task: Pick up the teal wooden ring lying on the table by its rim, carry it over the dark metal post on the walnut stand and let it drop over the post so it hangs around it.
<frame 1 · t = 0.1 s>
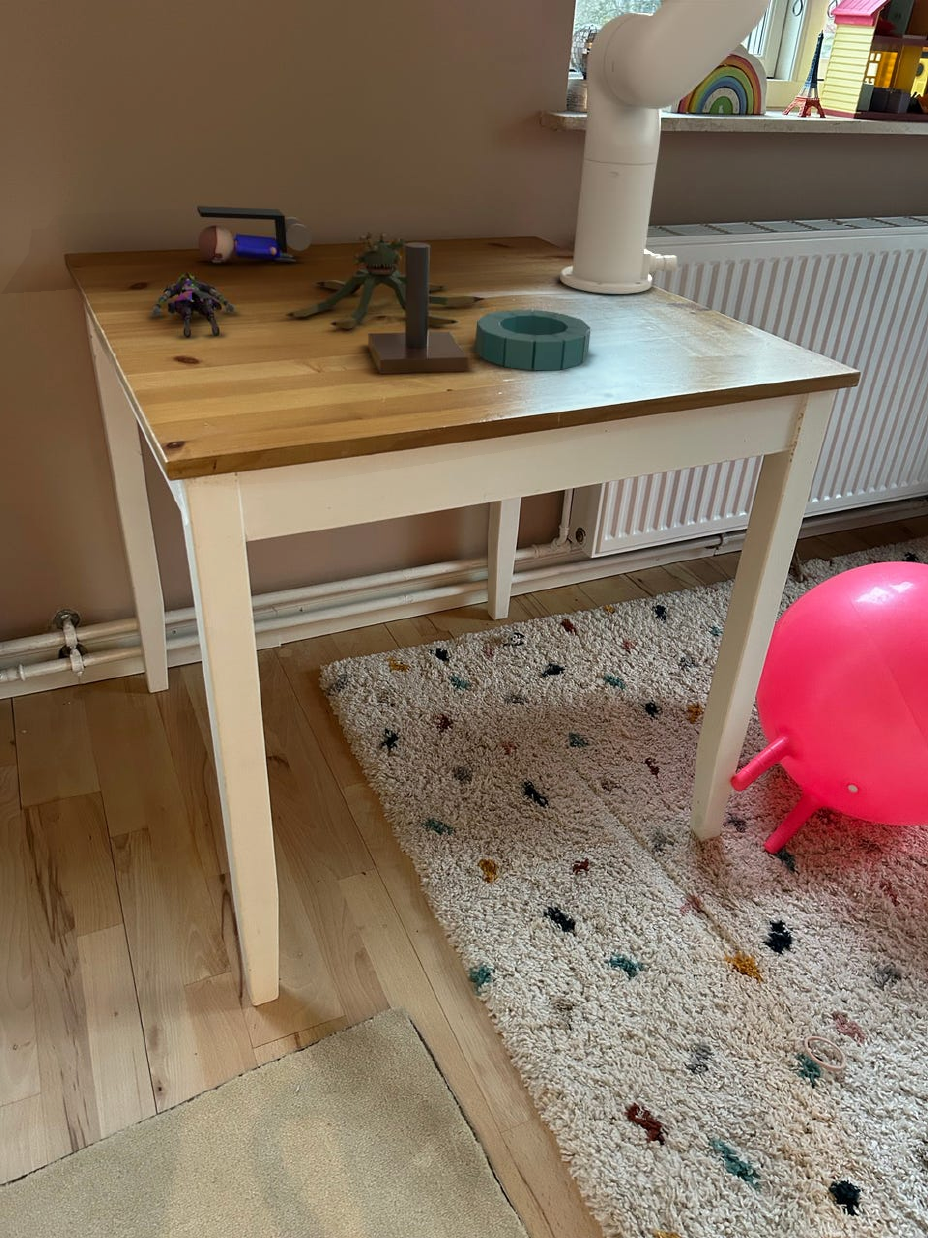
octopus toy: (387, 309, 117), on the table
character figure: (194, 318, 111), on the table
ring: (531, 352, 104), on the table
stand: (416, 358, 101), on the table
figurine character: (255, 262, 135), on the table
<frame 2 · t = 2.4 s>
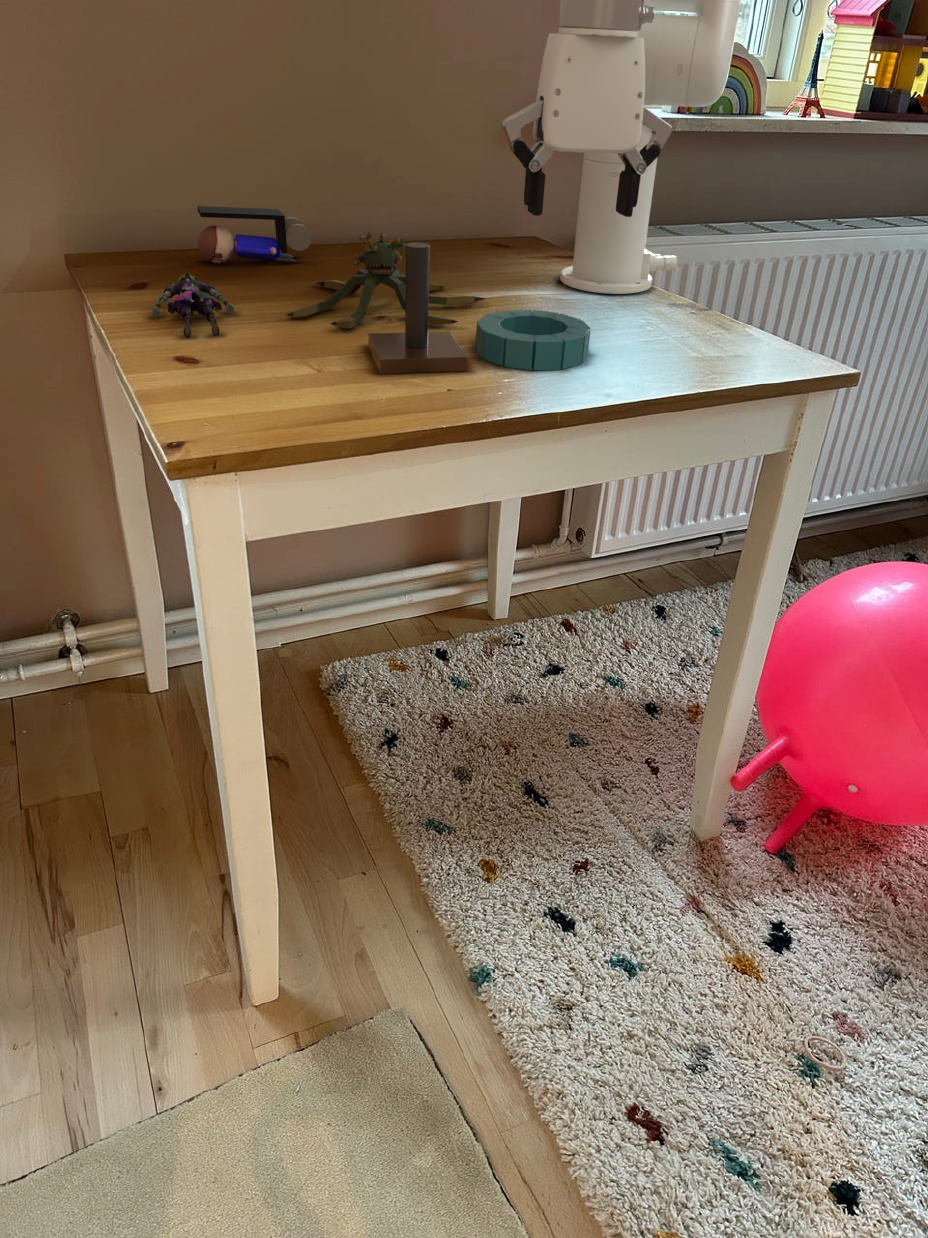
hand: (579, 213, 98), 14 cm above the table, tool pointing down, fingers open, 9 cm apart
nothing on the table moved.
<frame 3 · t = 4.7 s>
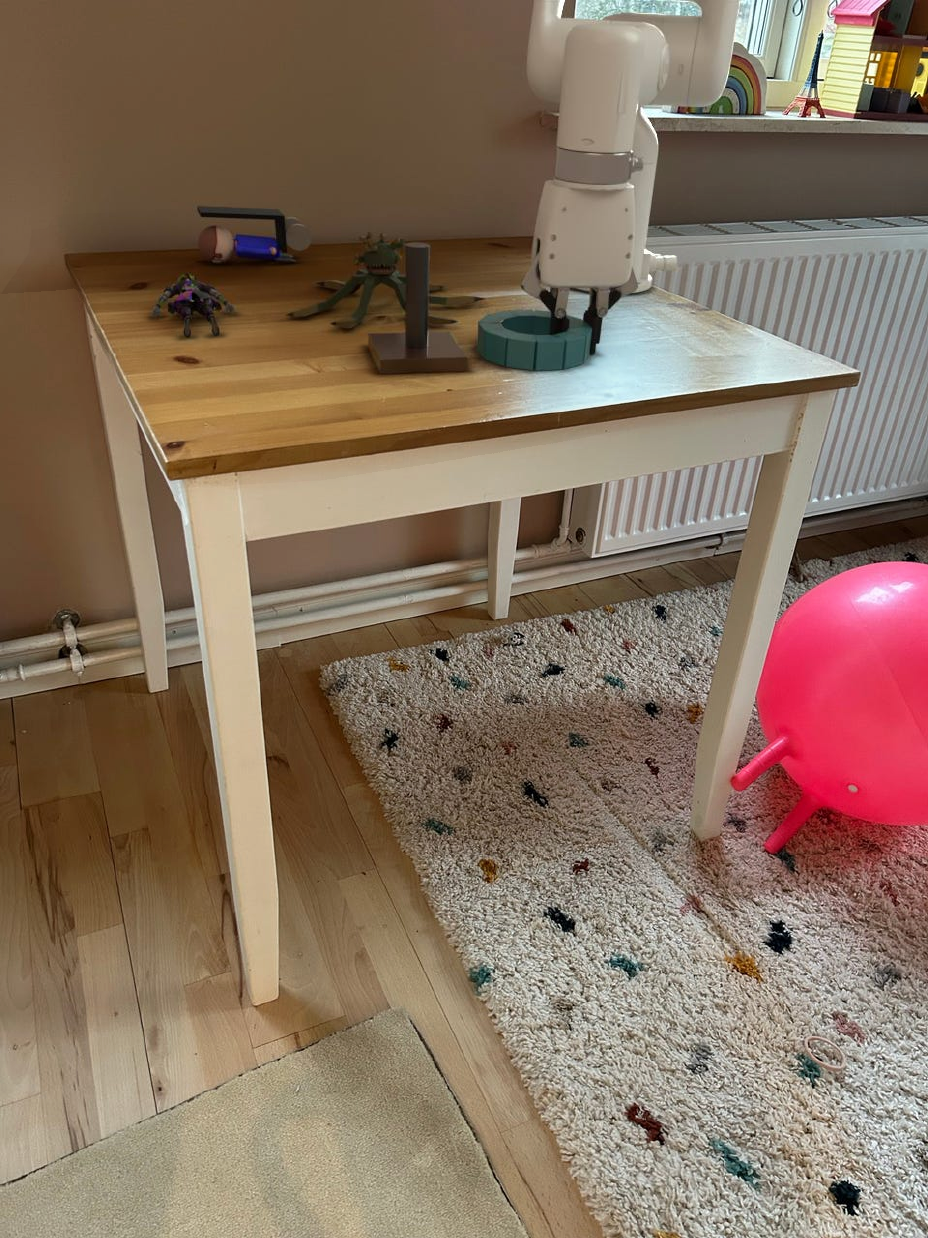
hand: (573, 349, 105), 0 cm above the table, tool pointing down, fingers closed on ring, 2 cm apart
ring: (532, 352, 104), on the table, touching gripper
everything else where it was.
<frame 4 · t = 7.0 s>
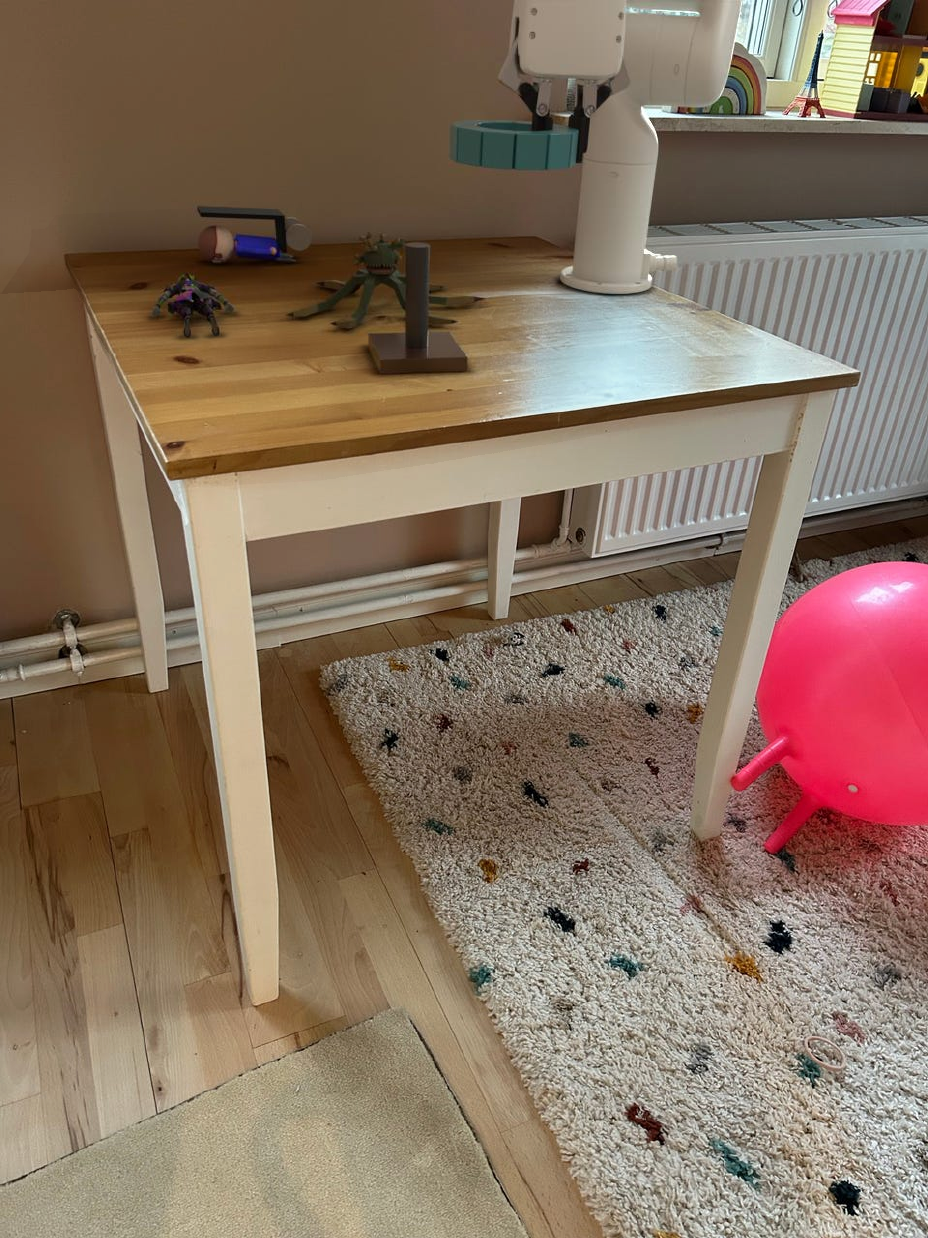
hand: (557, 159, 94), 19 cm above the table, tool pointing down, fingers closed on ring, 2 cm apart
ring: (512, 160, 93), point 19 cm above the table, touching gripper
everything else where it was.
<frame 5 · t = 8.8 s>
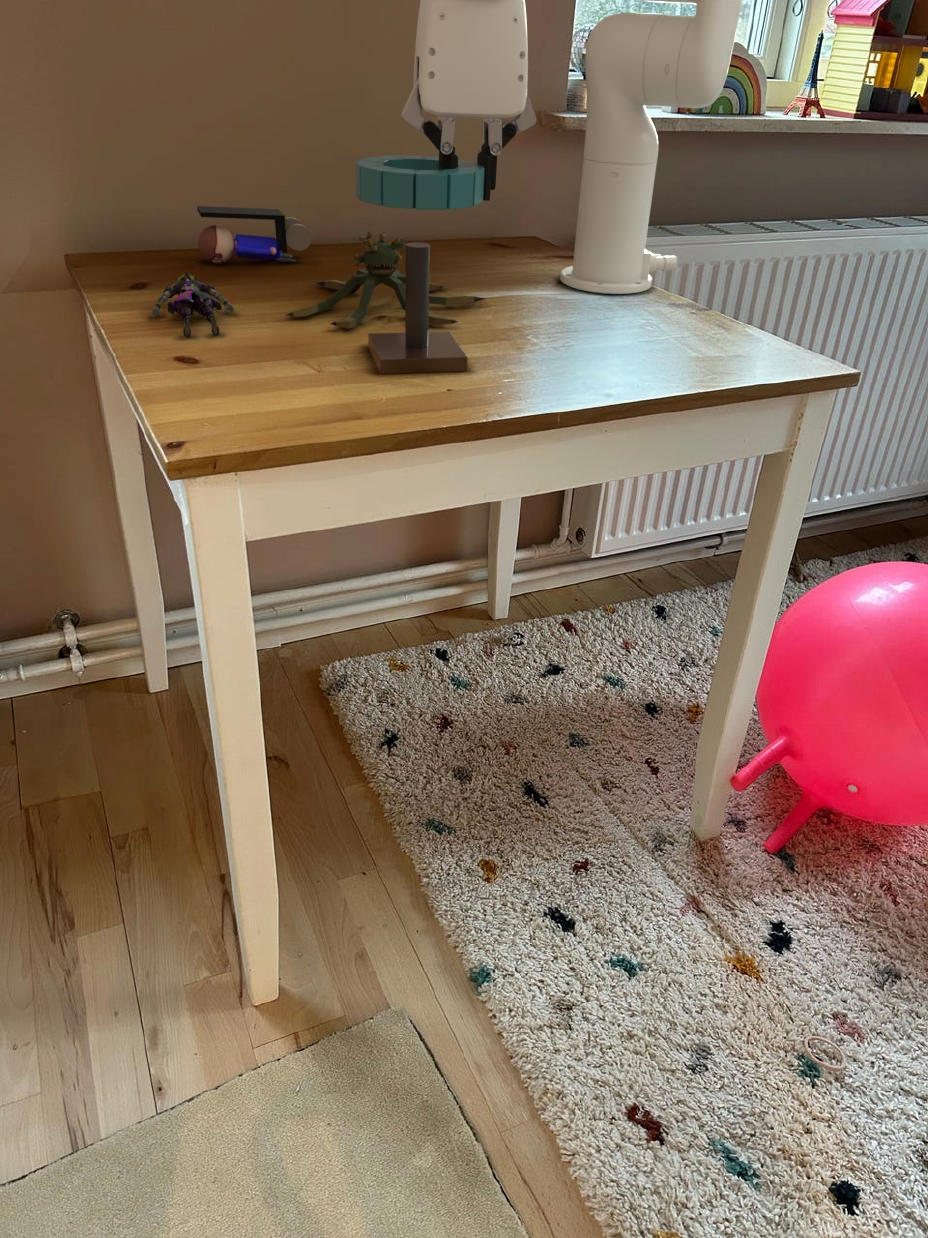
hand: (466, 196, 93), 16 cm above the table, tool pointing down, fingers closed on ring, 2 cm apart
ring: (419, 198, 92), point 16 cm above the table, touching gripper
everything else where it was.
when the fingers open (13 cm above the table, at t = 9.8 s): ring drops 11 cm, resting on stand.
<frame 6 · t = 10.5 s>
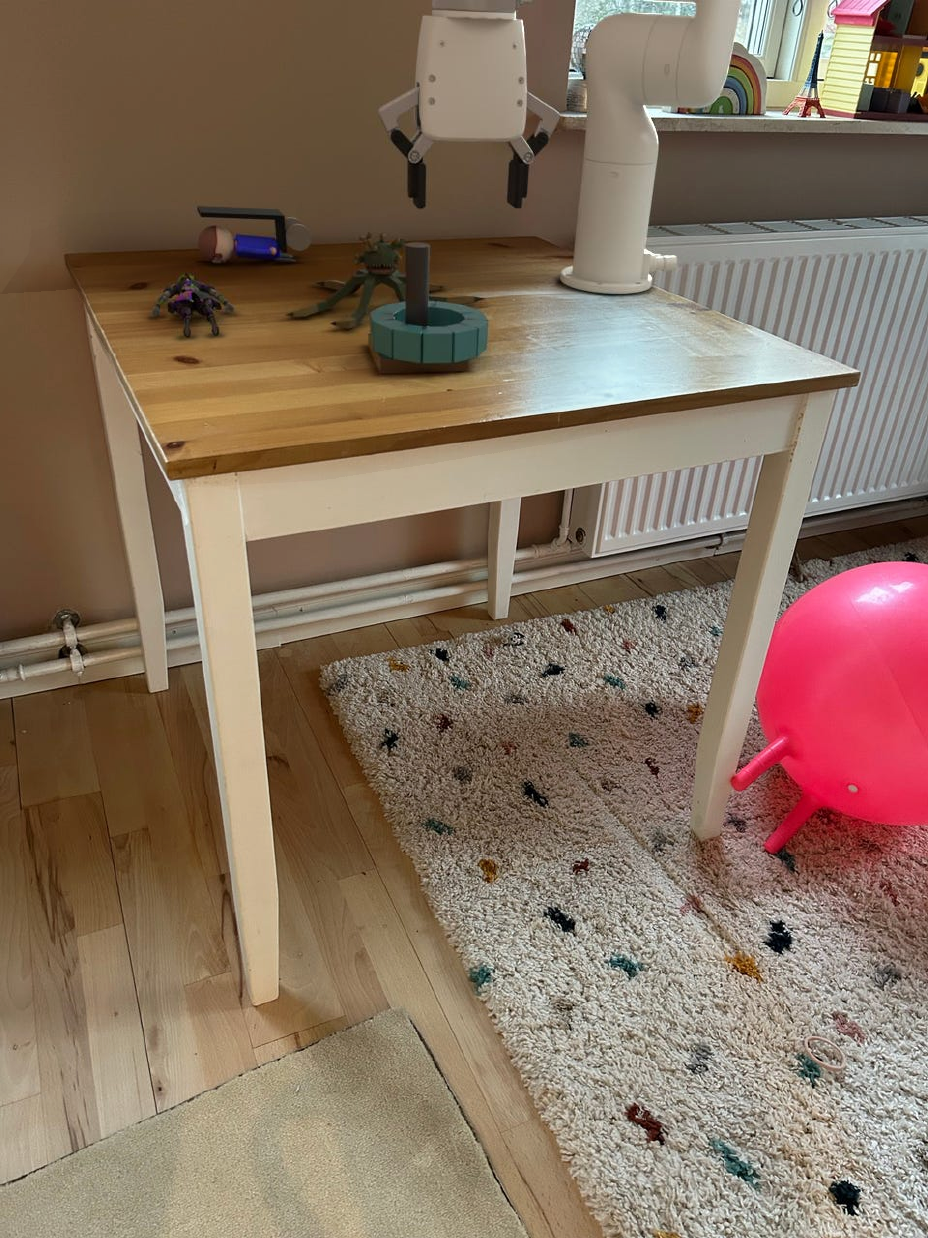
hand: (467, 205, 94), 15 cm above the table, tool pointing down, fingers open, 9 cm apart
ring: (428, 345, 100), point 1 cm above the table, touching stand
everything else where it was.
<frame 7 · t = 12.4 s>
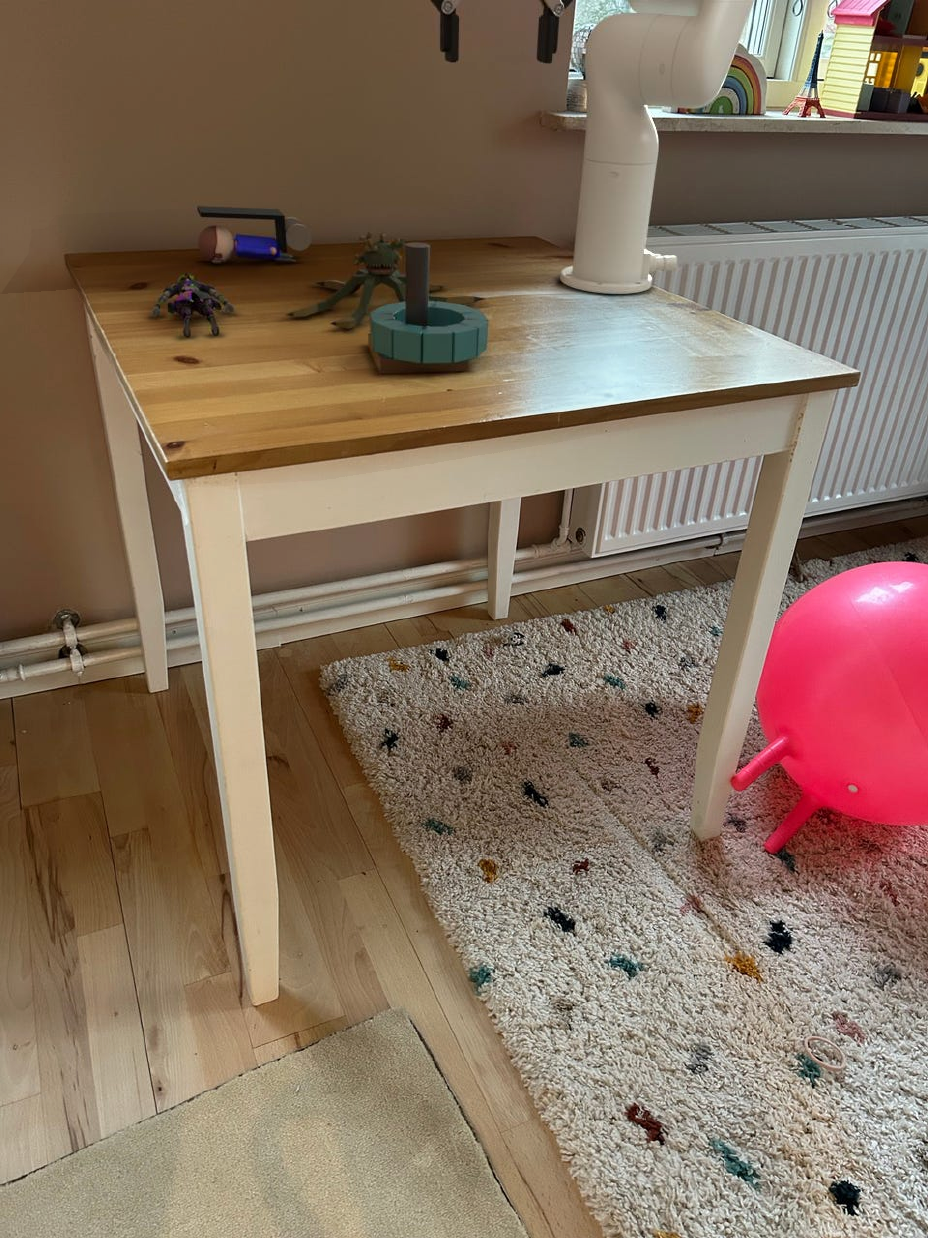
hand: (498, 61, 96), 27 cm above the table, tool pointing down, fingers open, 9 cm apart
nothing on the table moved.
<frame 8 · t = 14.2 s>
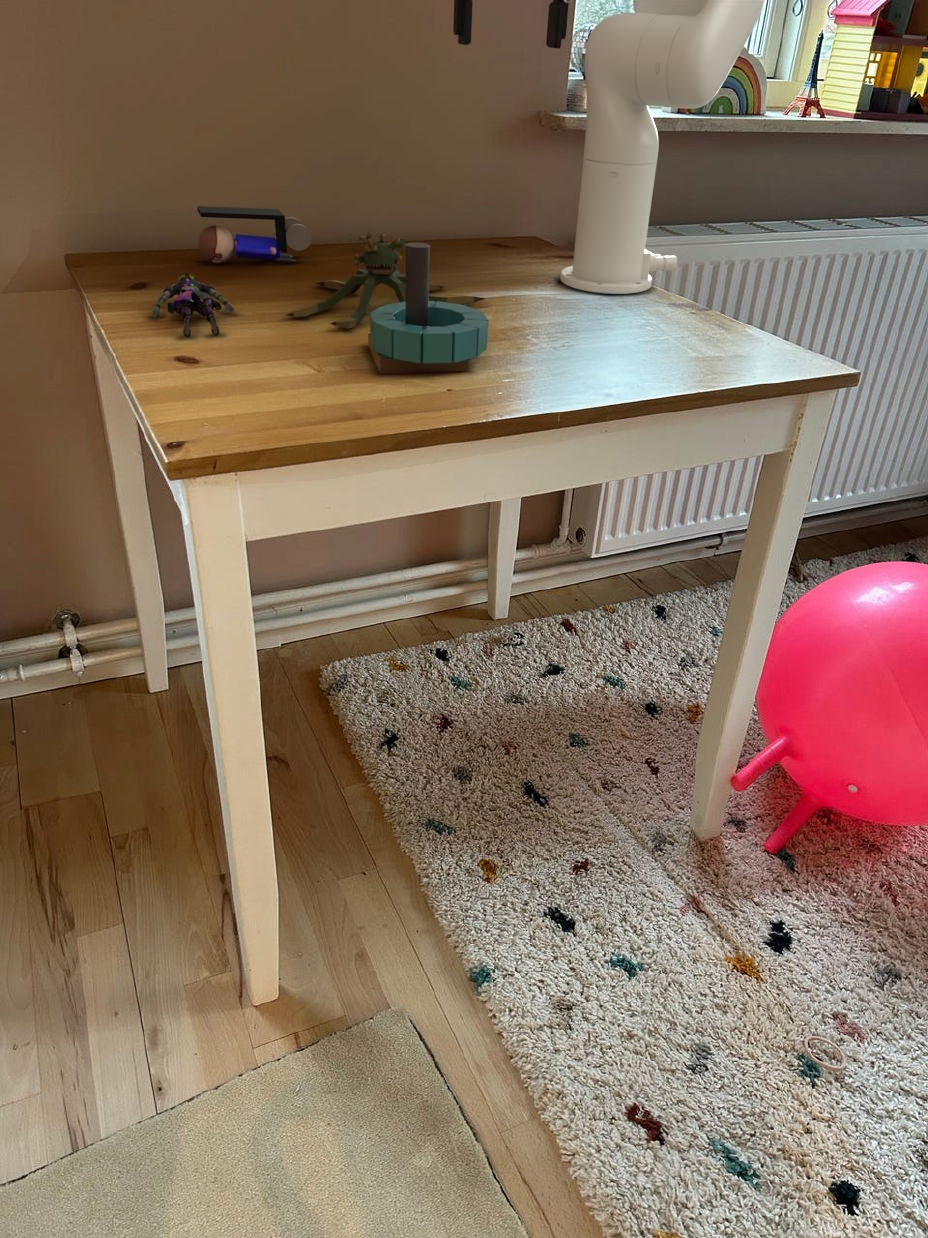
hand: (509, 45, 99), 28 cm above the table, tool pointing down, fingers open, 9 cm apart
nothing on the table moved.
at the end: ring 1.3 cm from the stand (horizontally); ring point 1.5 cm above the table; the gripper is holding nothing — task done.
